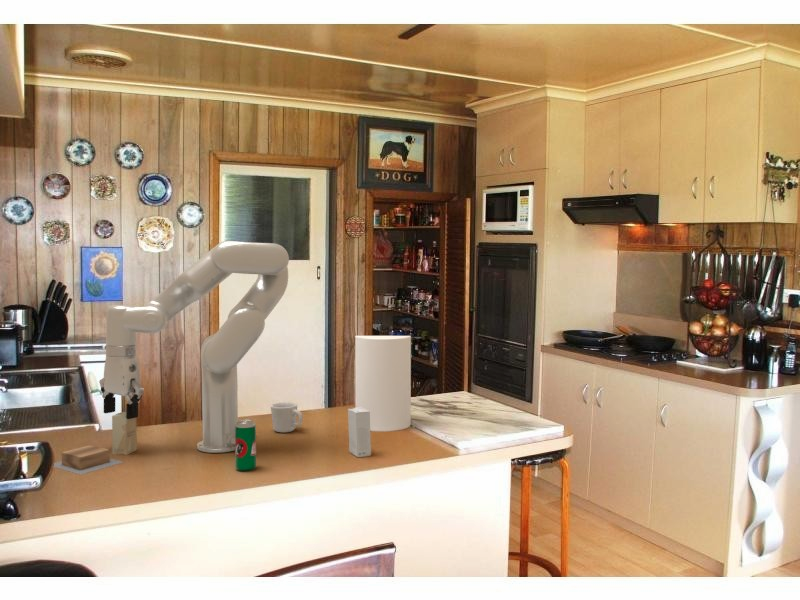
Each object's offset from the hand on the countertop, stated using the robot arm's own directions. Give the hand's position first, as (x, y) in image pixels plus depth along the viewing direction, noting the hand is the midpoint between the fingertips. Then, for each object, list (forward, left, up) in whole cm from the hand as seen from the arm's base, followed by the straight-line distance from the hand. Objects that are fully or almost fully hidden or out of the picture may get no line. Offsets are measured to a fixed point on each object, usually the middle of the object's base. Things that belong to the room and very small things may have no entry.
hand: (120, 415), depth 188 cm
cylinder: (-40, -66, -11) cm, 77 cm away
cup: (-21, -43, -11) cm, 49 cm away
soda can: (-37, -10, -11) cm, 39 cm away
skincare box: (-53, -36, -11) cm, 64 cm away
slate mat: (-2, +11, -11) cm, 16 cm away
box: (-1, -1, -11) cm, 11 cm away
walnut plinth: (-2, +11, -10) cm, 15 cm away
